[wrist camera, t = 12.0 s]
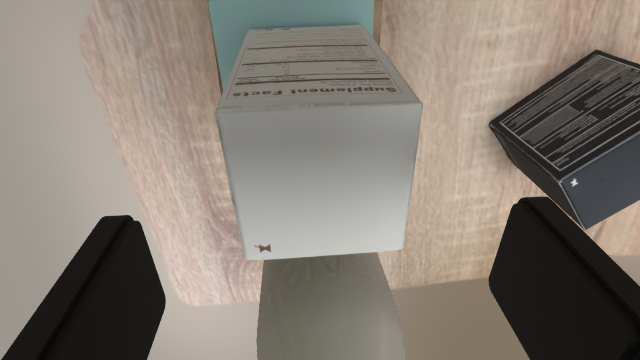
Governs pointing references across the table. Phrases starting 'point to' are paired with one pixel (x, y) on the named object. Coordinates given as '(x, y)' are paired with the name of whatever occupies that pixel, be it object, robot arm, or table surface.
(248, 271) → the table surface
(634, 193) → the small box
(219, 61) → the tower top
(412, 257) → the table surface
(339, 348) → the glass bottle
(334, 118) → the supplement box
